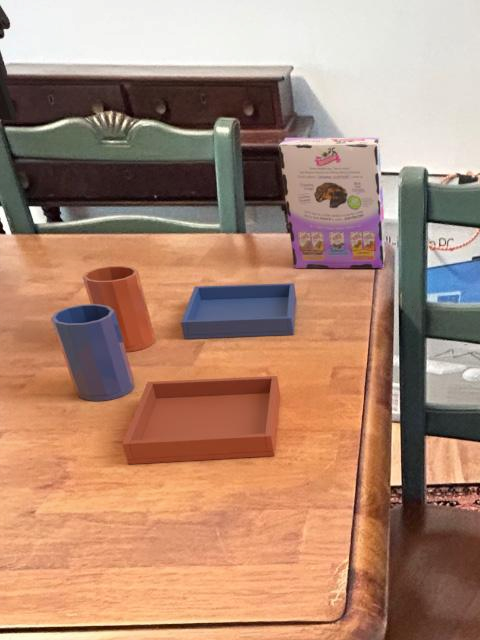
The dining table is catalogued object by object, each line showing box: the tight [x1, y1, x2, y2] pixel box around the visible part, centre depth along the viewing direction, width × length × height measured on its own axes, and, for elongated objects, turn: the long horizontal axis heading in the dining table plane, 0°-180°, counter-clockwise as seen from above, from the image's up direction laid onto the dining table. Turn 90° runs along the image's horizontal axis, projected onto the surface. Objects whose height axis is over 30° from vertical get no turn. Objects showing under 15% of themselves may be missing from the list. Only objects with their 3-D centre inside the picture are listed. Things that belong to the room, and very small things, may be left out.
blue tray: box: [180, 282, 297, 340], centre depth 95 cm, size 13×13×2 cm
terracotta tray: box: [121, 375, 281, 465], centre depth 72 cm, size 13×13×2 cm
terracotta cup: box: [82, 265, 155, 353], centre depth 86 cm, size 6×6×8 cm
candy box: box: [278, 137, 386, 269], centre depth 108 cm, size 14×6×16 cm, turn 90°
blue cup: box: [50, 303, 135, 402], centre depth 76 cm, size 6×6×8 cm
